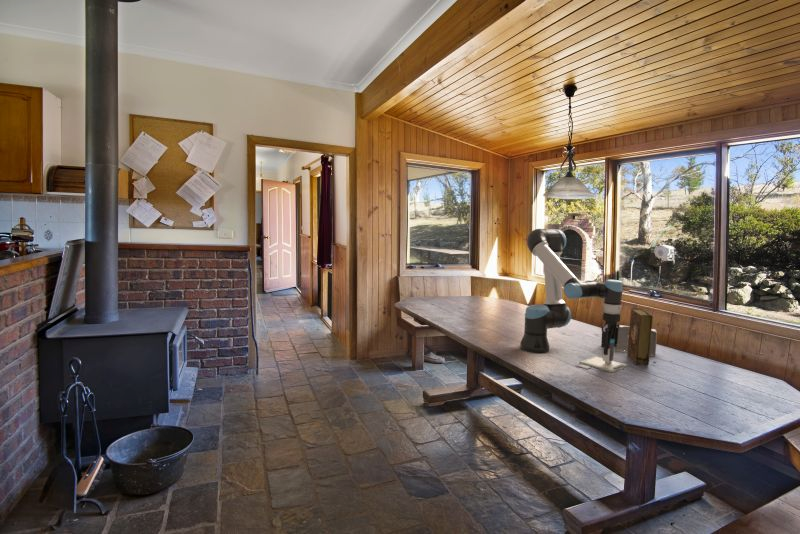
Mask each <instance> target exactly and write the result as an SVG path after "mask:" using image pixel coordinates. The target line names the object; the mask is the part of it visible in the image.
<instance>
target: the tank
mask: <svg viewBox="0 0 800 534" xmlns="http://www.w3.org/2000/svg"><path fill="white" fill-rule="evenodd" d="M619 325H620V326H619V331H618V341H617V344H616V345H617V347H615V346H614V347H615V349H614V352H620V351H621V353H627V352H628V340H629V328H630V325H629V326H628V325H621V324H619ZM657 339H658V332H657V330H656V329H655V328H652V332H651V344H650V355H649V357H655V356H656V355H657V353H656V352H657ZM624 350H625V351H624Z"/></svg>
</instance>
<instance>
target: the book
mask: <svg viewBox="0 0 800 534" xmlns="http://www.w3.org/2000/svg"><path fill="white" fill-rule="evenodd" d="M653 317H654V315H653V314H651V313H650V312H648V311H646V310H645V309H643V308H634V307H633V308H630V317H629V326H630V328H629V335H628V336H629V340H628V352H626V353H627V355H626V356H627V358H629V360H631V362H632V363H634V364H635V365H643V366H649V364H650V356H649V355H650V344H651V332H652V329H653Z"/></svg>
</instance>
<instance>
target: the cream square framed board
mask: <svg viewBox="0 0 800 534" xmlns="http://www.w3.org/2000/svg"><path fill="white" fill-rule="evenodd" d="M579 364H583V365H586V366H590V367H591V366H592V368H596V369H599V370H602V371H605V372H610V373H614V372H617V371H619V370H622V369H624V368H626V367H628V364H627V363H623V362H619V361H615V360H613V361H612V364H605V361H603V357H601V356H596V355H594V356H591V357H589V358H586V359H584V360H583V359H582V360H581V361H579ZM621 368H622V369H621Z"/></svg>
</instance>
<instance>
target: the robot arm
mask: <svg viewBox="0 0 800 534" xmlns="http://www.w3.org/2000/svg"><path fill="white" fill-rule="evenodd" d="M566 245H567V237H566V235H565V233H564V231H562V230H560V229H556V228H536V229H533V230H531V231H530V232H529V233H528V235H527V237H526V246H527V248H528V250H529V251H530V253H531V254H532V255H533V256H535V257H537V258H538V259H539V260H540V262H542V263H543V264H542V265H543V272H544V286H545V301H544V302H543V304H531V305H528V306H527V307H526V308H525V313H524V332H523V336H522V339H521V341H520V343H519V348H520V349H521V350H522V351H525V352H529V353H535V354H536V353H537V354H544V353H549V352H550V343H549V340H548V329H554V328H555V329H557V328H559V329H560V328H563V327H566V326H567V325H569V323H570V322H571V319H572V312H571V311H572V310H570V308H569V306H567V303H566V302H565V300H564V299H563V293H564V296H565V297H566V298H567V299H573V300H578V299H586V298H599V299H600V298H601V299H603V308H602V311H603V312H602V320H603V321H605V322H604V326H602V327H601V345H600V346H601V348H603V349H602V350H603V351H602V352H603V353H602V354H603V355H602V358H603V361H606V362H609V356H610V348H609V345H610V339H611V338H612V339H615V342H614V346H615V347H617V345H616V344H617V341H618V331H619V326H620V325H621V324H619V322H620V321H621V314H620V313H621V312H622V298H623V291H624V290H623V289H624V288H623V284H624V283H623V282H622V281H621V280H617V279H606V280H605V282H601V281H596V280H586V281H583V282H581V281H580V280H579V279H578V278H577V277H576V276H575V274H574V273H573V272H572V271H571V270H570V268H569V267H568V266H567V265H566V264H565V263H564V262H563V261H562V259H561V255H562V254H563V250H564V248H565V247H566ZM615 347H614V349H615ZM614 358H615V353H614V354H613V361H615V360H614Z"/></svg>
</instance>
